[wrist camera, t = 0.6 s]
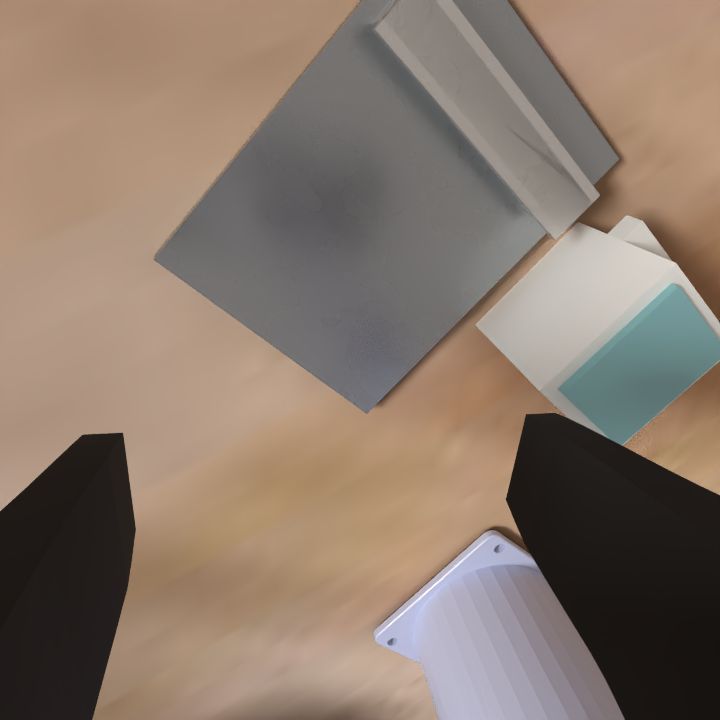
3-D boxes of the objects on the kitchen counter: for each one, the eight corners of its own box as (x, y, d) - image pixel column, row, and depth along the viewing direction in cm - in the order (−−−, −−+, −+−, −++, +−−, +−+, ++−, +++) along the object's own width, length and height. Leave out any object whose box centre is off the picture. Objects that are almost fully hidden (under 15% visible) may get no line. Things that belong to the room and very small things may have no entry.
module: (650, 275, 21) (767, 331, 17) (536, 382, 22) (615, 462, 18) (594, 203, 19) (708, 244, 15) (474, 324, 21) (544, 396, 16)
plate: (608, 156, 19) (619, 159, 18) (363, 405, 21) (366, 413, 21) (432, -89, 15) (440, -95, 14) (156, 253, 17) (153, 259, 17)
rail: (573, 186, 18) (600, 195, 17) (532, 228, 19) (555, 240, 17) (409, -24, 15) (426, -34, 13) (362, 33, 15) (375, 29, 14)
